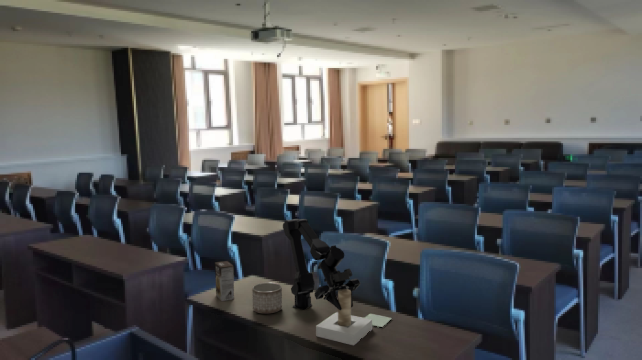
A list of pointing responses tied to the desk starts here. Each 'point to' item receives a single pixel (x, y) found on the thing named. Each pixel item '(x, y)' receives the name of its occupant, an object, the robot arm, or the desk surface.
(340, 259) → the robot arm
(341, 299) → the wooden peg
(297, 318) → the desk surface
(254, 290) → the planter
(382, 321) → the green pad
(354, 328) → the pocket block
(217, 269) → the coffee box
